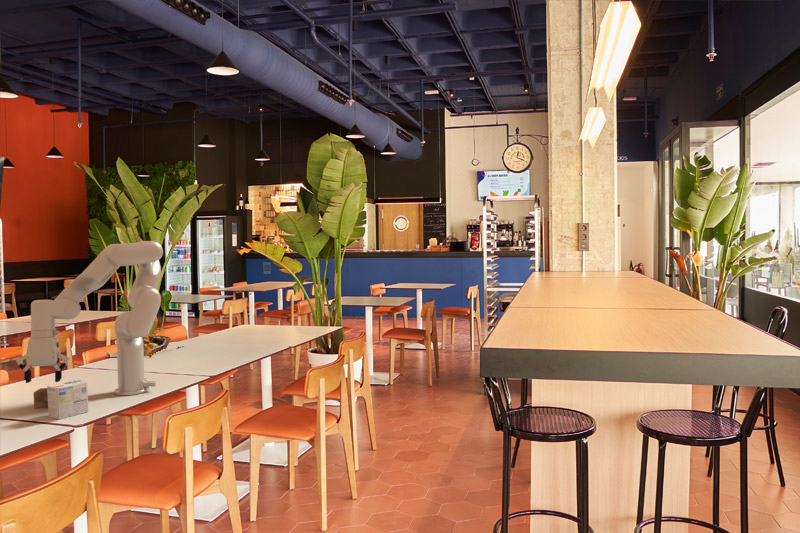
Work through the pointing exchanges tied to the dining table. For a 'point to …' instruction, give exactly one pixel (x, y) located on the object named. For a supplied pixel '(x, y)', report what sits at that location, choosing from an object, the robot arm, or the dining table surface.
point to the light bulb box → (67, 399)
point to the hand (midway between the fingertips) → (43, 381)
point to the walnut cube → (41, 398)
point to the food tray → (151, 345)
